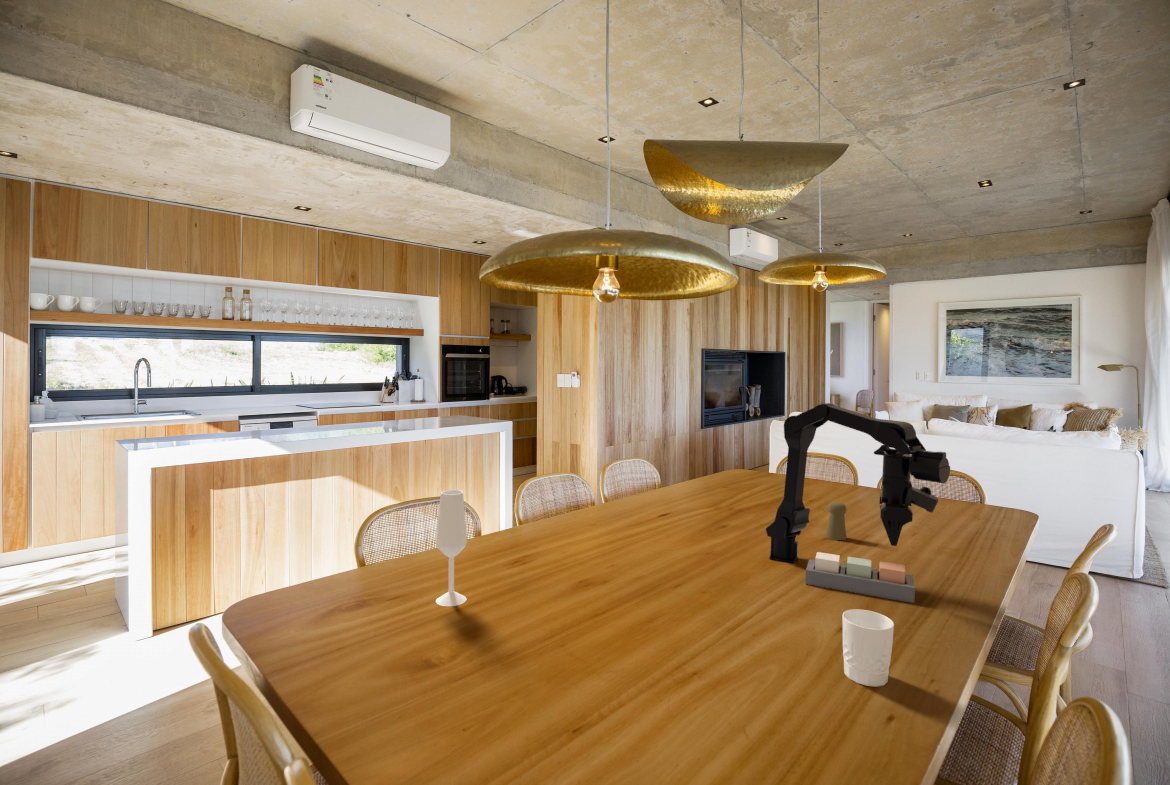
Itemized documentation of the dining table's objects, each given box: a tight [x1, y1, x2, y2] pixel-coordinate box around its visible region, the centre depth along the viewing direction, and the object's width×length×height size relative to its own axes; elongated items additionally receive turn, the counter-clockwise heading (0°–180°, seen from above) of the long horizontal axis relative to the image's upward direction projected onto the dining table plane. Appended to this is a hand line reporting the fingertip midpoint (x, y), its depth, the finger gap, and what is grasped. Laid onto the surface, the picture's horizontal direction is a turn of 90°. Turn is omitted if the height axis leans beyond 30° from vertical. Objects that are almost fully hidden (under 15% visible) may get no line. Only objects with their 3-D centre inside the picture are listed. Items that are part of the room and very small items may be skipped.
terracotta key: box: [878, 561, 906, 584], centre depth 135 cm, size 5×5×4 cm
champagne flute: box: [435, 489, 468, 607], centre depth 126 cm, size 7×7×24 cm
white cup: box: [842, 608, 895, 688], centre depth 98 cm, size 8×8×10 cm
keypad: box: [804, 558, 916, 604], centre depth 138 cm, size 23×9×4 cm, turn 64°
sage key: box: [846, 556, 872, 578], centre depth 138 cm, size 5×5×4 cm
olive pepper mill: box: [825, 501, 848, 541], centre depth 178 cm, size 6×6×11 cm
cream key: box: [814, 551, 841, 573], centre depth 141 cm, size 5×5×4 cm
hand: (893, 541), depth 135 cm, fingers open, 6 cm apart
